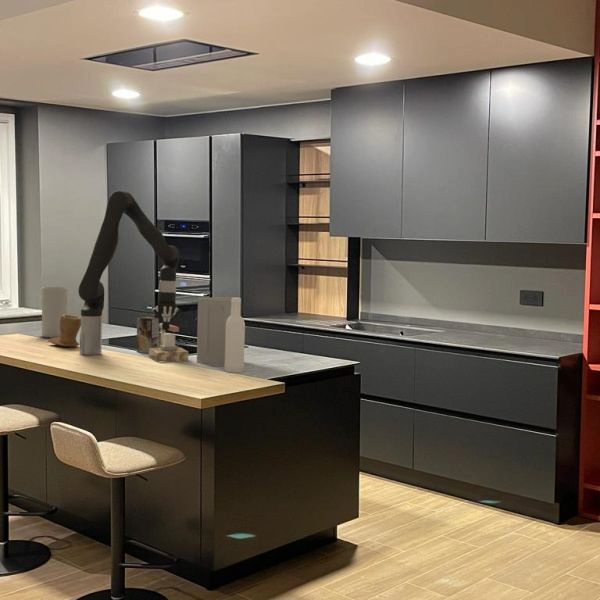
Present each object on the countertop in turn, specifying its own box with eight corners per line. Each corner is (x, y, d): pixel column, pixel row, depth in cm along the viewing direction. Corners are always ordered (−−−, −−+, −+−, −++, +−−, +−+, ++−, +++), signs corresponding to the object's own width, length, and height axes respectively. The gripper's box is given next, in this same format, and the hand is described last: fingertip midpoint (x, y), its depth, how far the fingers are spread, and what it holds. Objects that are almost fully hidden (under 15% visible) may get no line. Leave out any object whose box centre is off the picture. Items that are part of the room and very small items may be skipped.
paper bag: (211, 367, 357) (213, 300, 355) (196, 362, 370) (197, 297, 368) (251, 364, 368) (253, 300, 366) (234, 359, 380) (236, 297, 378)
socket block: (156, 361, 367) (156, 352, 367) (149, 357, 380) (149, 348, 380) (188, 360, 373) (188, 351, 373) (179, 356, 386) (179, 347, 385)
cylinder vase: (36, 336, 436) (37, 288, 434) (50, 334, 448) (51, 286, 446) (58, 338, 433) (58, 289, 431) (71, 335, 445) (72, 287, 443)
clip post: (158, 356, 383) (158, 329, 382) (155, 354, 388) (156, 328, 387) (169, 355, 385) (169, 329, 384) (166, 354, 390) (166, 327, 389)
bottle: (234, 368, 355) (235, 297, 353) (247, 371, 350) (249, 298, 348) (220, 370, 349) (222, 297, 347) (234, 373, 344) (236, 299, 342)
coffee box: (160, 352, 396) (160, 317, 395) (151, 353, 390) (152, 318, 389) (144, 350, 400) (145, 316, 399) (135, 352, 394) (136, 317, 393)
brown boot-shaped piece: (86, 347, 406) (86, 315, 405) (63, 348, 397) (63, 316, 396) (69, 343, 417) (70, 312, 415) (47, 345, 408) (47, 313, 407)
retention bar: (173, 331, 372) (173, 327, 372) (158, 327, 386) (158, 323, 386) (179, 331, 374) (179, 327, 374) (164, 327, 388) (164, 323, 388)
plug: (162, 360, 372) (163, 335, 371) (159, 358, 378) (159, 333, 377) (177, 359, 375) (178, 335, 374) (173, 357, 381) (174, 333, 380)
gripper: (154, 291, 369) (152, 331, 370) (184, 292, 374) (182, 331, 375) (150, 289, 376) (148, 329, 377) (179, 290, 381) (178, 329, 382)
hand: (165, 330), depth 376 cm, fingers closed
